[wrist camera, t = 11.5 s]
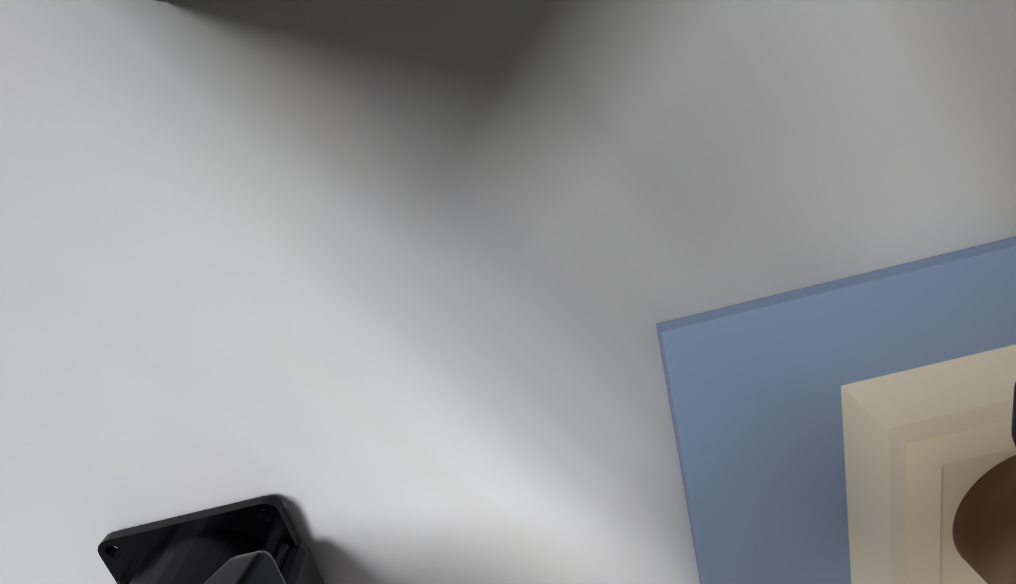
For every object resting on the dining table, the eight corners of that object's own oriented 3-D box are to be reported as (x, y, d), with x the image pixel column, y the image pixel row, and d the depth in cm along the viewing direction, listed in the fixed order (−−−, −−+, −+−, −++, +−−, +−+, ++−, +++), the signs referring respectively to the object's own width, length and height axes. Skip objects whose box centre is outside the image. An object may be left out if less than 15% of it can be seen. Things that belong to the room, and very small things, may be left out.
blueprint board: (715, 666, 26) (754, 766, 22) (656, 324, 20) (697, 384, 16) (1204, 558, 25) (1329, 644, 21) (1288, 170, 19) (1481, 196, 15)
